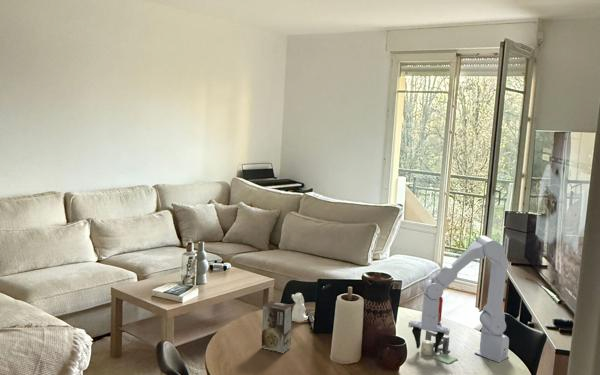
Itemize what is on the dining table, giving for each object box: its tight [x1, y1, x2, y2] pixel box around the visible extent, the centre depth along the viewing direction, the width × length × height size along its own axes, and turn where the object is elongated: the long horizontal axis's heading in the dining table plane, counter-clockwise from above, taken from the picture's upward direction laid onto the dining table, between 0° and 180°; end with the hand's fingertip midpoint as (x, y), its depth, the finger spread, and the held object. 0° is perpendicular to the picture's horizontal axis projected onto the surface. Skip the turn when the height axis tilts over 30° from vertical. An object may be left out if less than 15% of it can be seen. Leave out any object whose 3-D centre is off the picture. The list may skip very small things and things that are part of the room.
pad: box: [433, 353, 458, 365], centre depth 197 cm, size 6×6×1 cm
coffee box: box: [261, 300, 293, 353], centre depth 197 cm, size 9×6×16 cm
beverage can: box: [437, 296, 444, 325], centre depth 233 cm, size 6×6×12 cm
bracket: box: [424, 330, 451, 355], centre depth 205 cm, size 9×4×6 cm, turn 44°
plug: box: [420, 339, 443, 356], centre depth 203 cm, size 4×12×4 cm, turn 132°
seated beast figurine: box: [291, 292, 309, 322], centre depth 226 cm, size 10×9×12 cm
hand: (426, 349), depth 201 cm, fingers open, 6 cm apart
